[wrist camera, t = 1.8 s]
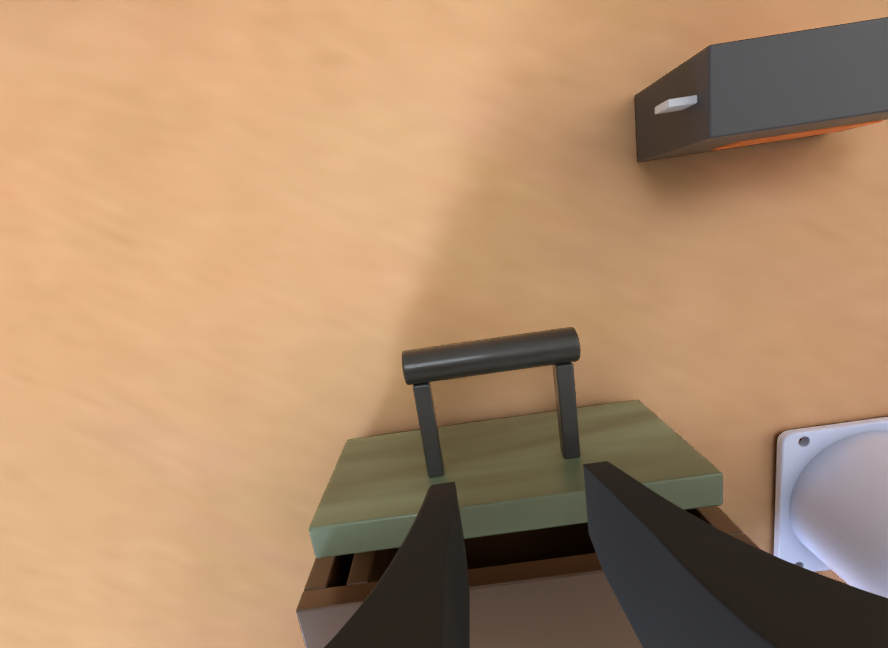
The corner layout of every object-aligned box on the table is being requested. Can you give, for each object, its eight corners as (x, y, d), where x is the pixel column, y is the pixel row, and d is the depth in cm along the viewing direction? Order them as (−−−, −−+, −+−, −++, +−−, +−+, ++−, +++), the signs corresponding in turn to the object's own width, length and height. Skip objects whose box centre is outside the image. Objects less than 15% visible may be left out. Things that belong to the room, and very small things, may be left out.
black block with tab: (833, 63, 17) (988, -2, 12) (829, 134, 18) (975, 99, 13) (611, 97, 17) (678, 47, 13) (615, 167, 18) (680, 145, 13)
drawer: (325, 339, 19) (272, 390, 13) (633, 294, 18) (723, 326, 12) (396, 670, 23) (381, 824, 17) (649, 638, 22) (724, 784, 17)
